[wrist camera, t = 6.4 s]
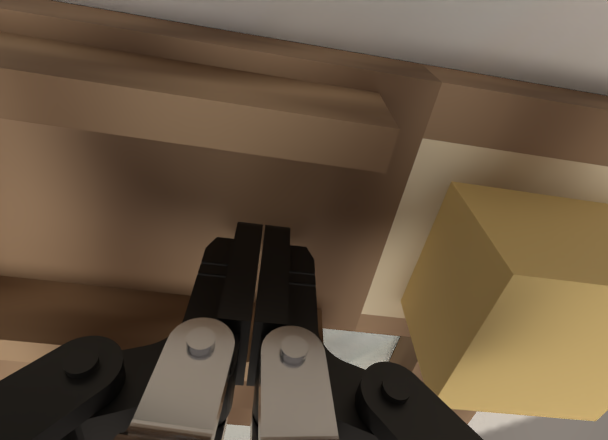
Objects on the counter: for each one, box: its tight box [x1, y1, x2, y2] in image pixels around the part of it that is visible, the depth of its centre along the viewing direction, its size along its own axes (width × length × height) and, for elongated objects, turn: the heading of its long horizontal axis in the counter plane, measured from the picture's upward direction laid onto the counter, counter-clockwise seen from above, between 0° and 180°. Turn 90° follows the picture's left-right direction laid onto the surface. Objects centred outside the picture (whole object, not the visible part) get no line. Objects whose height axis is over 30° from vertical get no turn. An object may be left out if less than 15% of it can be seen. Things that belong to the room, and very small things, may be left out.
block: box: [401, 181, 608, 421], centre depth 11 cm, size 5×5×4 cm
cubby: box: [0, 31, 400, 381], centre depth 11 cm, size 14×9×2 cm, turn 81°
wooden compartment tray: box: [0, 0, 608, 426], centre depth 15 cm, size 22×17×2 cm
